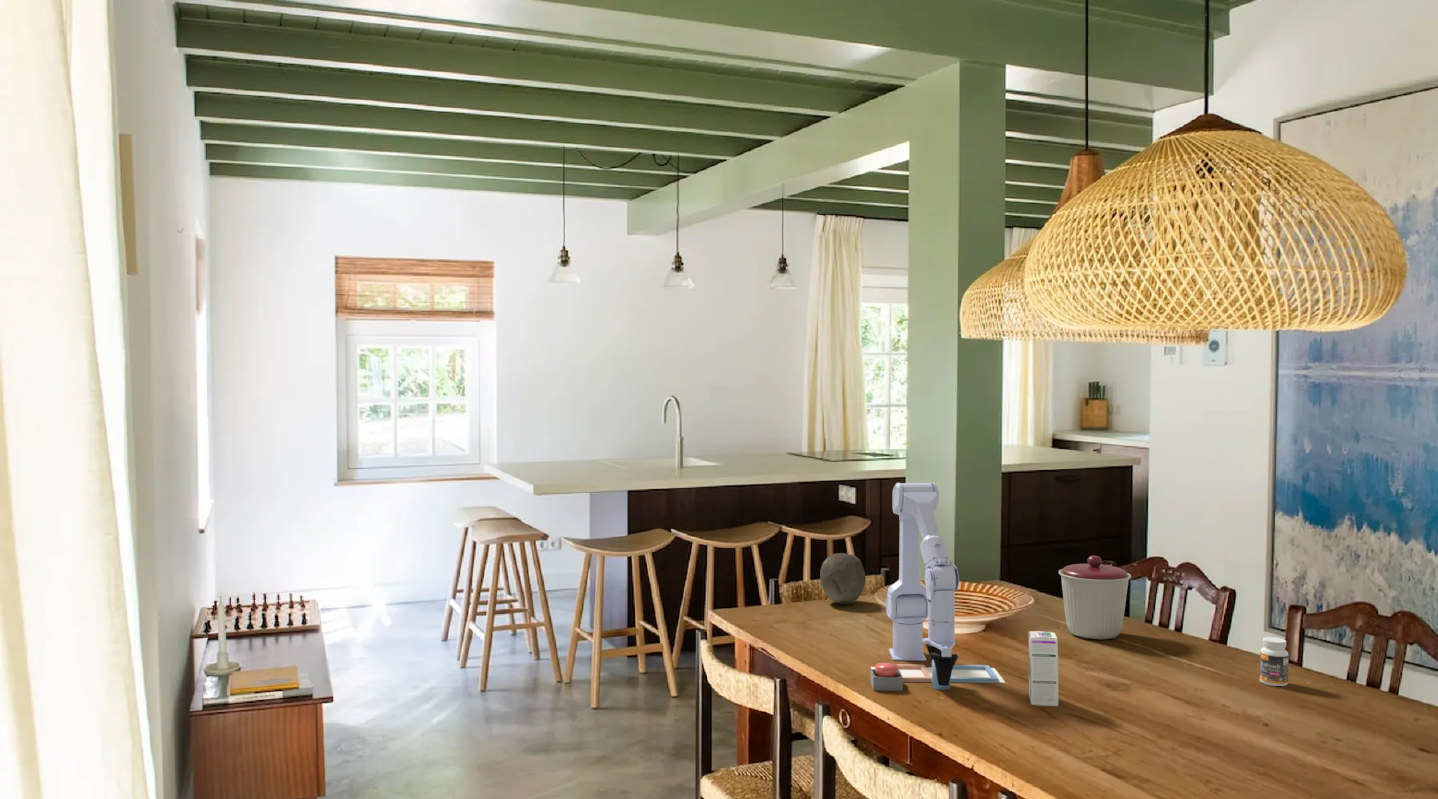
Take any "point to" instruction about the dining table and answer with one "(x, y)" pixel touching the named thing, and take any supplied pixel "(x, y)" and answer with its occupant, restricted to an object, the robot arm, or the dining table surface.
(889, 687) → the button base
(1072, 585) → the canister
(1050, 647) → the syrup box
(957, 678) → the region blue
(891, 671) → the button
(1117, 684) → the dining table surface
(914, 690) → the dining table surface
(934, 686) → the blue cylinder
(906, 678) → the region terracotta
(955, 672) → the sheet
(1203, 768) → the dining table surface
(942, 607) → the robot arm
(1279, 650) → the pill bottle
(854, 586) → the grey boulder
